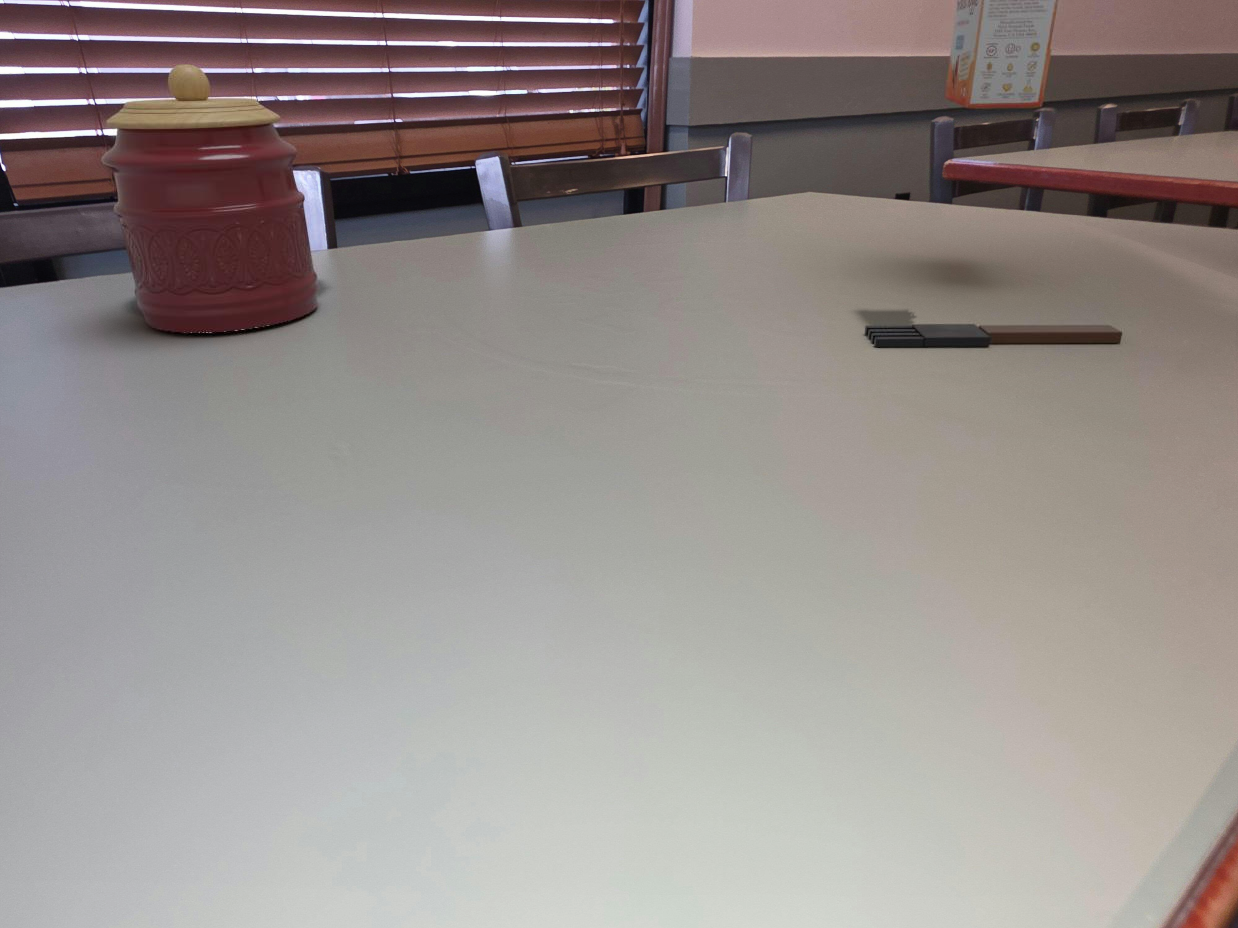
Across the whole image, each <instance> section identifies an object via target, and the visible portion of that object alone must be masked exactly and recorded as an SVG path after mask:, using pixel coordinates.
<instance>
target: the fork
mask: <svg viewBox="0 0 1238 928" xmlns="http://www.w3.org/2000/svg"><path fill="white" fill-rule="evenodd" d="M864 335H865V336H867V339H869V340H870V342H871V343H872V344H873V345H874V347H875V348H923V347H925V348H948V347H949V348H953V347H954V348H958V347H959V348H973V347H974V348H976V347H977V348H979V347H980V348H984V347H985V348H986V347H987V348H988V347H990V345H991V344H993V345H994V344H1120V343H1121V341H1122V338H1123V331H1121V330H1120V329H1117V328H1116V327H1114V326H1112V325H1111V324H1025V325H1024V324H1009V325H1008V324H1007V325H1006V324H1003V325H1002V324H1000V325H999V324H998V325H997V324H995V325H994V324H991V325H990V324H987V325H985V324H984V325H981V324H979V325H978V326H977V325H976V324H975V323H912V324H909V325H905V324H904V325H865V326H864Z"/></svg>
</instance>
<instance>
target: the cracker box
mask: <svg viewBox="0 0 1238 928" xmlns="http://www.w3.org/2000/svg"><path fill="white" fill-rule="evenodd" d="M1060 2H1061V0H956V6H955V7H956V8H955V13H954V15H955V16H954V22H953V24H954V25H953V30H952V38H951V45H950V53H949V61H948V69H947V76H946V85H945V93H944V98H945V100H948V101H951V102H952V103H953V102H954V103H955V104H957V105H960V106H962V107H964V108H966V109H975V110H976V109H979V110H980V109H981V110H988V109H991V110H992V109H1035V108H1041V107H1042V106H1043V102H1044V97H1045V90H1046V84H1047V78H1048V72H1049V66H1050V61H1051V54H1052V48H1053V44H1054V36H1055V31H1056V27H1057V26H1056V25H1057V20H1058V14H1059V7H1060Z"/></svg>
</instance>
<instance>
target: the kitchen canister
mask: <svg viewBox="0 0 1238 928" xmlns="http://www.w3.org/2000/svg"><path fill="white" fill-rule="evenodd" d="M167 77H168V78H167V85H168V89H169V91H170V93H171V95H172V97H173V98H172V99H171V98H169V99H168V98H167V99H146V100H145V99H144V100H133V101H127V102H125V103H124V104H123V108H121V109H120V110H119V111H118V112H117V113H115V114H113V115H112V116H111V117H109V118H108V119H107V120H106V126H108V127H109V128H112V129H116V137H115V142H114V145H113V146H112V147H111V148H110V149H109V150H107V151H106V152H105V153H104V154H103V155H102V156H101V163H102V164H103V165H104V166H106V168H108V169H109V170H110V171H111V172H112V173H113V176H114V180H115V185H116V191H117V202H116V203H115V204H114V206H113V211H114V213H115V214H116V215H117V218H118V221H119V224H120V229H121V233H122V237H123V241H124V245H125V250H126V253H127V257H128V261H129V265H130V269H131V274H132V277H133V281H134V295H135V297H136V299H137V301H136V302H137V303H136V305H137V307H138V309H139V310H140V312H141V314H142V315H143V318H144V320H145V323H146V324H147V325H148V326H149V327H151V328H152V329H155V328H156V329H155V330H158V329H160V330H159V331H162V330H165V331H164V332H167V331H172V332H171V333H174V332H183V333H182V334H188V333H191V332H192V333H199V332H200V333H203V332H204V333H206V332H208V334H210V333H209V332H224V331H235V330H241V329H250V328H255V327H263V326H267V325H273V326H275V325H274V324H277V325H279V324H278V323H281V324H283V323H282V322H285V323H287V322H286V321H288V322H292V321H295V320H297V319H300V318H302V317H305V316H306V314H307V315H309V314H310V313H312V312H313V311H314V310H315V309H316V308H318V304H319V299H318V294H319V291H320V288H319V287H320V286H319V283H318V274H317V272H316V271H315V268H314V263H313V257H312V256H313V255H312V250H311V244H310V238H309V232H308V231H309V230H308V225H307V218H306V211H305V206H304V203H305V200H306V197H305V194H304V193H303V192H302V191H300V190H298V186H297V183H296V179H295V174H294V169H293V163H294V161H295V159H296V158H297V156H298V154H299V152H298V149H297V148H296V147H295V146H294V145H292V144H290V143H289V142H288V141H285V140H284V139H283V138H282V137H281V136H280V134H279V133H278V131H277V129H276V127H275V125H274V123H280V121H281V116H280V115H279V114H278V113H276V112H274V111H272V110H270V109H268V108H266V107H265V106H264V105H262V104H260V102H259V101H258V100H257V99H255V98H245V97H243V98H242V97H222V98H221V97H213V98H212V97H211V98H210V94H211V85H210V81H209V78H208V76H207V75H206V73H205V72H204V71H203V70H202V69H201V68H200V67H198V66H196V65H193V64H185V63H184V64H178V65H176V66H174V67H172V68H171V70H170V72H169V74H168V76H167ZM304 315H305V316H304ZM299 317H300V318H299ZM296 318H297V319H296ZM294 319H295V320H294ZM291 320H292V321H291ZM263 328H264V327H263ZM184 332H185V333H184Z"/></svg>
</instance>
